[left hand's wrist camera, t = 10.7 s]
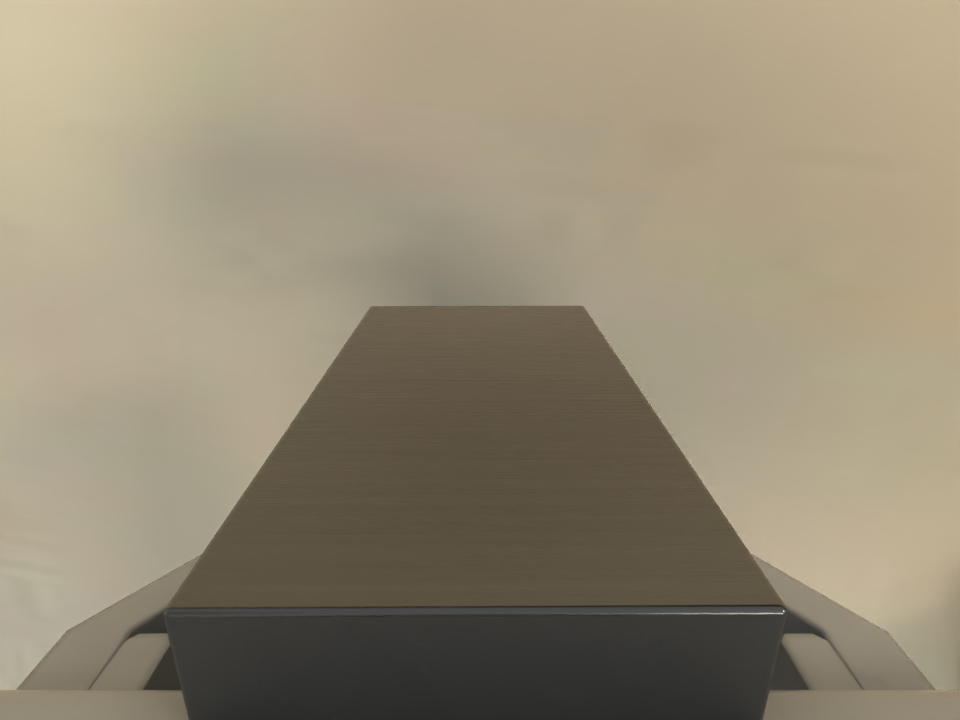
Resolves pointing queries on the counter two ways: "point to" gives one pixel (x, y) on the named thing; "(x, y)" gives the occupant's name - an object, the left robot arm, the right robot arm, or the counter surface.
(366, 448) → the bar
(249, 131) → the counter surface
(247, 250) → the counter surface
